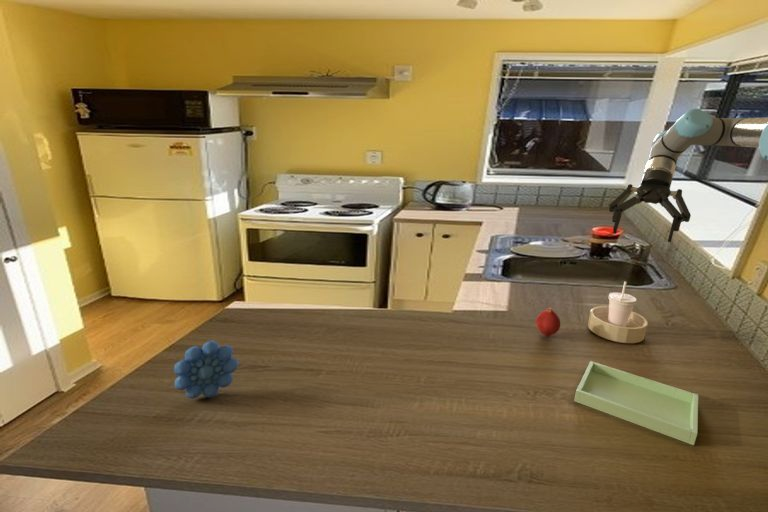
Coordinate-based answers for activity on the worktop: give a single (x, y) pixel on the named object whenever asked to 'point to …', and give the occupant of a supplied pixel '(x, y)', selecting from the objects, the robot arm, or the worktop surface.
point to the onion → (548, 322)
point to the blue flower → (205, 369)
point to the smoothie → (620, 307)
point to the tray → (640, 401)
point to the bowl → (627, 334)
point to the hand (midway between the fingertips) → (641, 235)
